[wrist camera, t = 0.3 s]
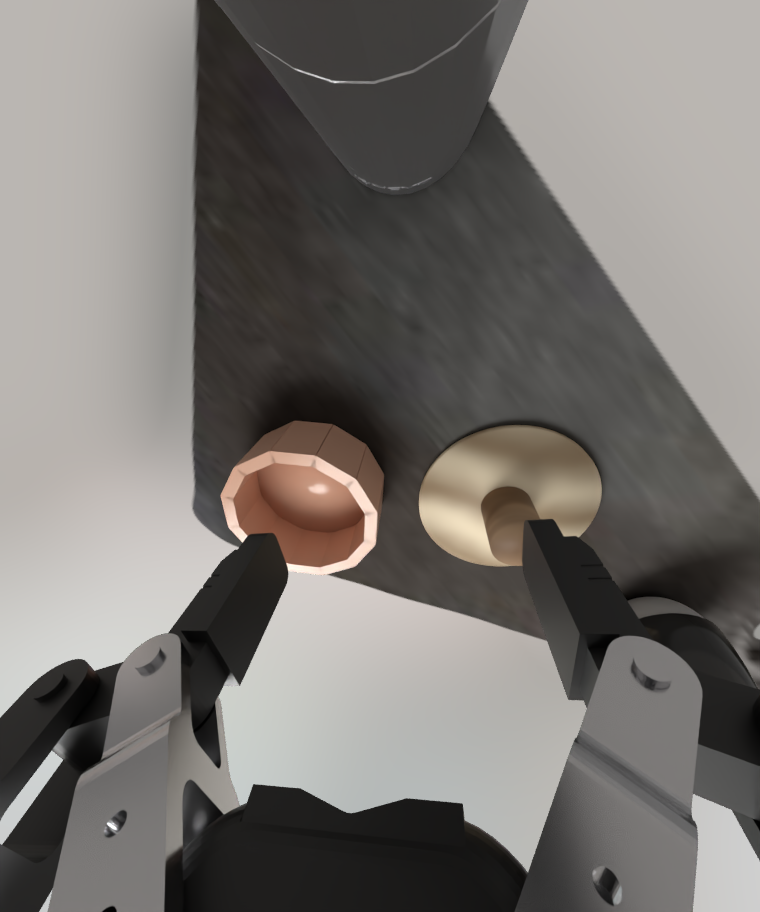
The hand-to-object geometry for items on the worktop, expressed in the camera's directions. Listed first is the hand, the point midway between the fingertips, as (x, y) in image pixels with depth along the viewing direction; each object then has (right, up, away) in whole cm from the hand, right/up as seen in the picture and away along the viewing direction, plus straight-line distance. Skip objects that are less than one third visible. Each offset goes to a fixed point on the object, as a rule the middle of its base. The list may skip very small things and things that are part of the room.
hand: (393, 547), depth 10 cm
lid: (+11, -1, +20) cm, 23 cm away
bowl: (-7, 0, +21) cm, 22 cm away
